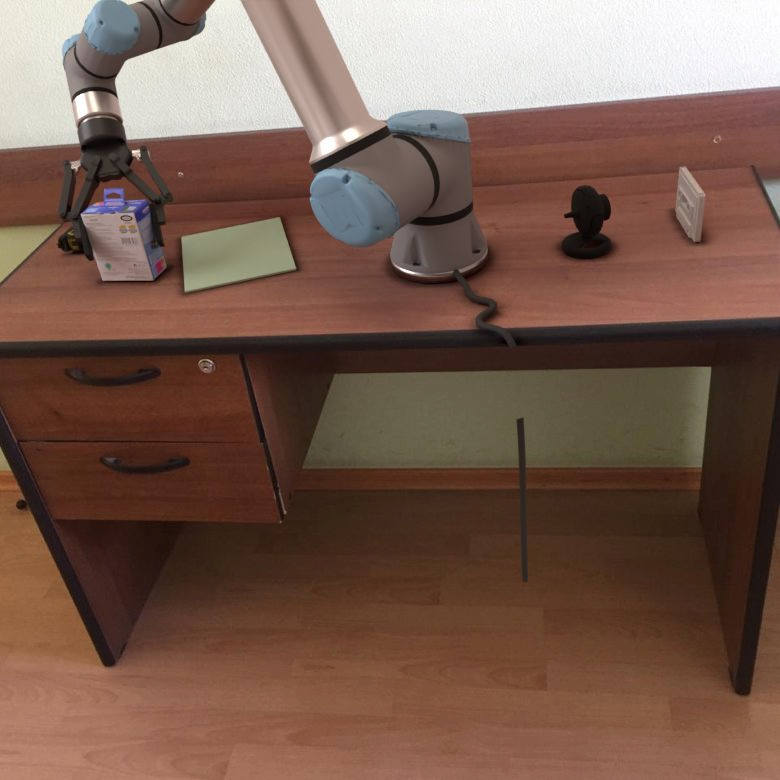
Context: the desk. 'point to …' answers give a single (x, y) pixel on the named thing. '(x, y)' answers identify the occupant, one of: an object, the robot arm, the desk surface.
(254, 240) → the mat
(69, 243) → the tape measure
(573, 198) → the webcam
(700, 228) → the cassette
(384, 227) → the robot arm
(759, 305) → the desk surface
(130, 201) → the ink cartridge box
